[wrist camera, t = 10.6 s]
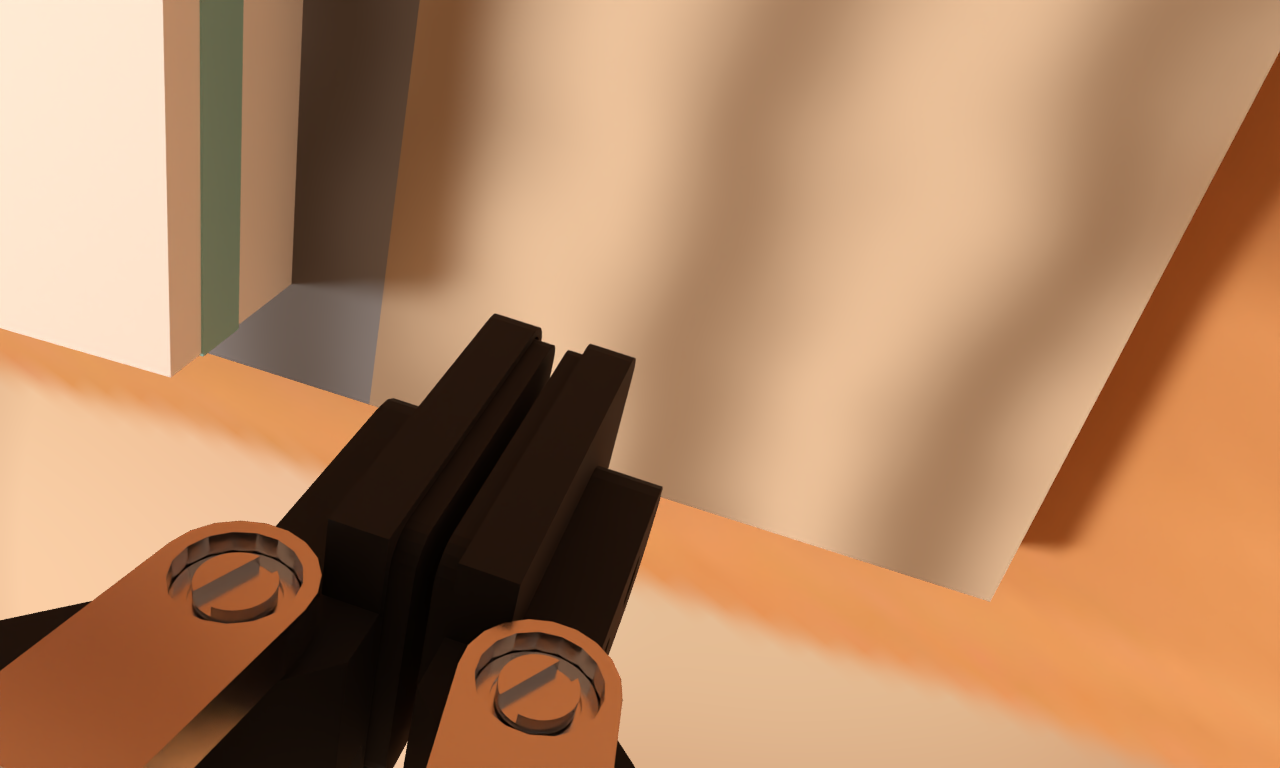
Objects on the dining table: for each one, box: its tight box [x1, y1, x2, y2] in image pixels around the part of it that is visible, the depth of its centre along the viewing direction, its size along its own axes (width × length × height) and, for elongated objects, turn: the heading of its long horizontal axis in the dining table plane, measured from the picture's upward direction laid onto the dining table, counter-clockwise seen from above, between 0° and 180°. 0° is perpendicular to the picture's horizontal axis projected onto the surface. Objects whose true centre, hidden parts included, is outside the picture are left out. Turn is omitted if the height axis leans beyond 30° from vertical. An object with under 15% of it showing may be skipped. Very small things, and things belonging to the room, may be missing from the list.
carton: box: [0, 0, 303, 377], centre depth 21 cm, size 8×9×6 cm
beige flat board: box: [209, 0, 1280, 602], centre depth 24 cm, size 32×15×2 cm, turn 77°
